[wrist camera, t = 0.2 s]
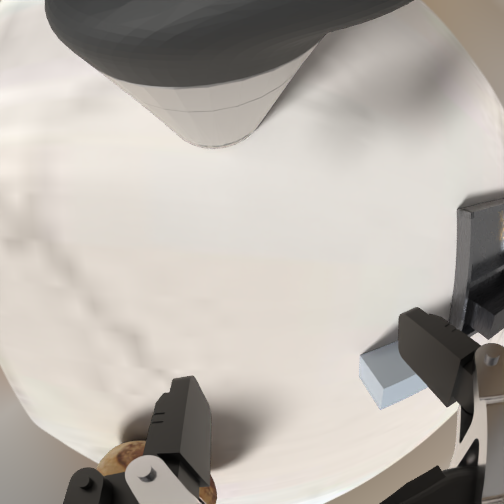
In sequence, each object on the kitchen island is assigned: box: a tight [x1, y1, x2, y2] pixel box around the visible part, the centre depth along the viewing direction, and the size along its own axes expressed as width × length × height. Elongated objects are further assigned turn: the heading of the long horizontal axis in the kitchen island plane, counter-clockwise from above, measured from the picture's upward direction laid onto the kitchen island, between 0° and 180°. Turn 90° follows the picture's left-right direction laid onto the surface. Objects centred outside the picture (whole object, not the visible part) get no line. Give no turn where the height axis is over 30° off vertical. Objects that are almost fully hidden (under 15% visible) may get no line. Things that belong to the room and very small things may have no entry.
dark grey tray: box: [449, 198, 504, 340], centre depth 26 cm, size 20×16×8 cm
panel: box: [359, 341, 428, 410], centre depth 28 cm, size 4×12×7 cm, turn 102°
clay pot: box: [96, 441, 217, 504], centre depth 26 cm, size 19×19×20 cm
